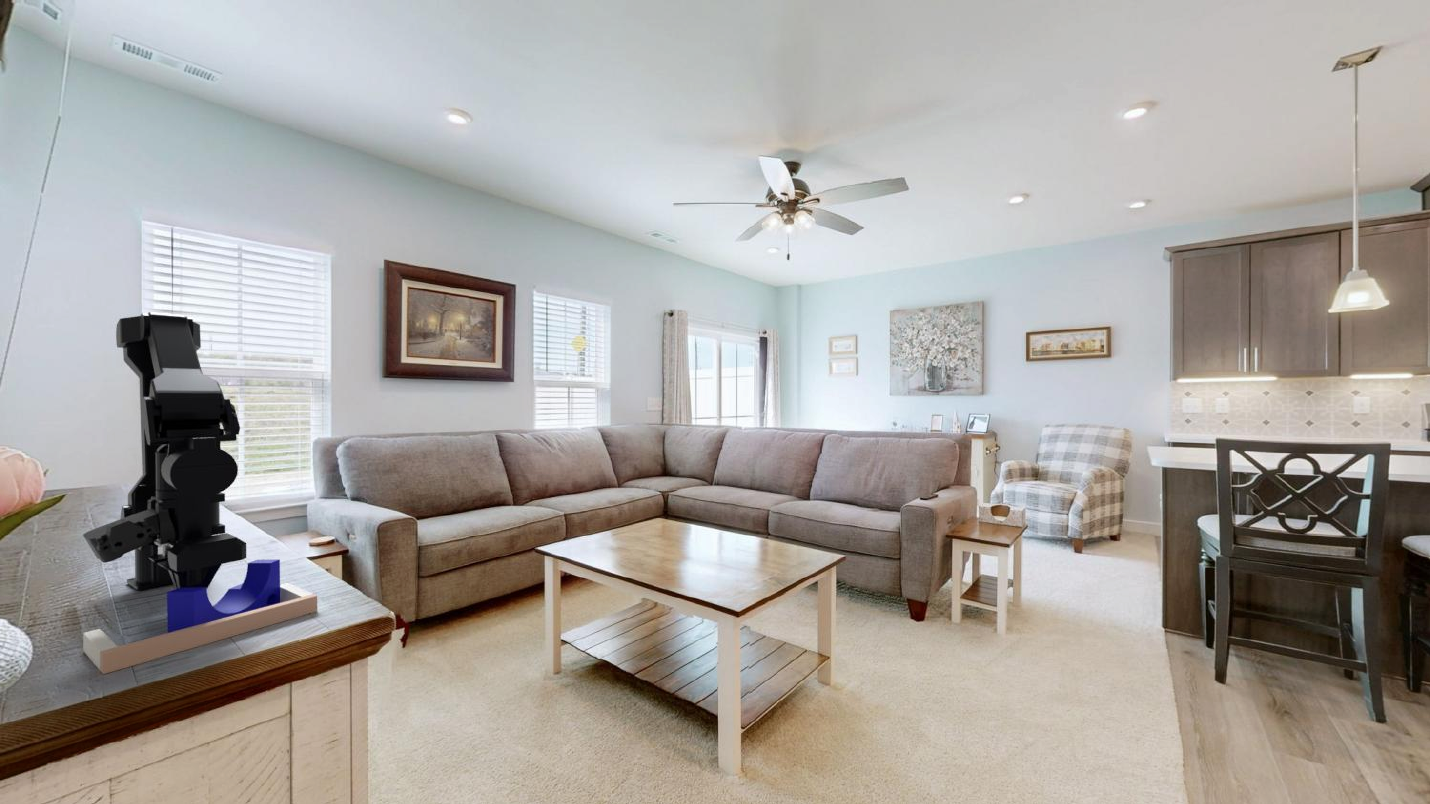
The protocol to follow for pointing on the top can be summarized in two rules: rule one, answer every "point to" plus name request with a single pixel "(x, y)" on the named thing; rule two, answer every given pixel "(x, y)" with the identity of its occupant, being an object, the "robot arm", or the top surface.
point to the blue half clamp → (225, 597)
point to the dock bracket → (196, 632)
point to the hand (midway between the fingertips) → (189, 609)
